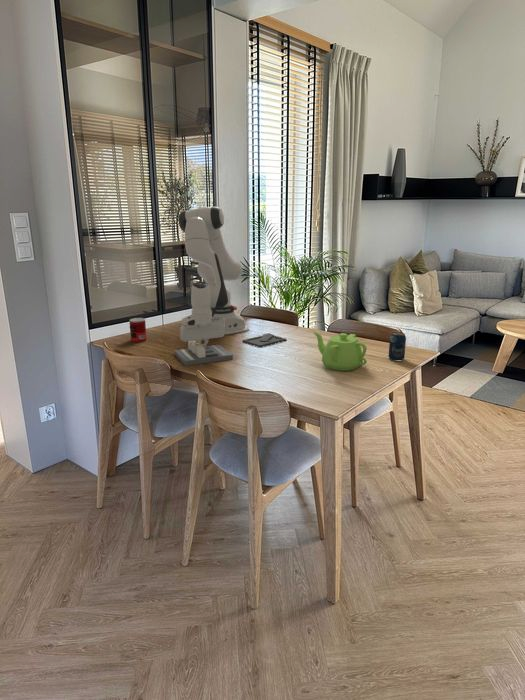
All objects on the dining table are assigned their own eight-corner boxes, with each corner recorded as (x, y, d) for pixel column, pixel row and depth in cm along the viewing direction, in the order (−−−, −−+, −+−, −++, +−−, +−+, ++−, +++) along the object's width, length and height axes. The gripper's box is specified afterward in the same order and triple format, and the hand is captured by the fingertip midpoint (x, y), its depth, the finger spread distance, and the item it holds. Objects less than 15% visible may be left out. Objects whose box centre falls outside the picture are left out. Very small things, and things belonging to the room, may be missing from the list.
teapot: (370, 371, 203) (372, 338, 199) (324, 375, 199) (326, 341, 195) (354, 358, 221) (355, 327, 216) (311, 361, 217) (312, 329, 213)
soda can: (392, 362, 215) (394, 336, 211) (385, 357, 221) (387, 332, 218) (407, 361, 216) (409, 335, 213) (399, 356, 223) (401, 331, 219)
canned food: (148, 338, 254) (147, 317, 251) (143, 342, 246) (141, 321, 243) (134, 338, 255) (132, 317, 251) (128, 342, 247) (127, 321, 244)
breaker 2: (202, 354, 218) (202, 346, 217) (205, 357, 215) (205, 348, 214) (196, 355, 217) (195, 347, 216) (198, 358, 214) (198, 349, 213)
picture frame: (268, 336, 258) (242, 343, 247) (268, 333, 258) (242, 339, 246) (286, 341, 249) (259, 348, 237) (286, 338, 248) (259, 344, 237)
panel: (219, 348, 235) (218, 344, 235) (232, 359, 220) (232, 354, 219) (174, 354, 227) (174, 350, 226) (185, 365, 211) (185, 360, 210)
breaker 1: (194, 347, 229) (194, 339, 228) (197, 350, 225) (196, 341, 224) (188, 348, 228) (188, 340, 226) (190, 350, 224) (190, 342, 223)
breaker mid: (198, 351, 224) (197, 342, 222) (201, 353, 220) (200, 344, 219) (192, 352, 222) (191, 343, 221) (194, 354, 219) (194, 345, 218)
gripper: (221, 315, 225) (222, 344, 229) (177, 319, 217) (179, 349, 221) (226, 318, 219) (226, 347, 223) (182, 322, 211) (183, 353, 215)
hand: (203, 348), depth 222 cm, fingers closed
